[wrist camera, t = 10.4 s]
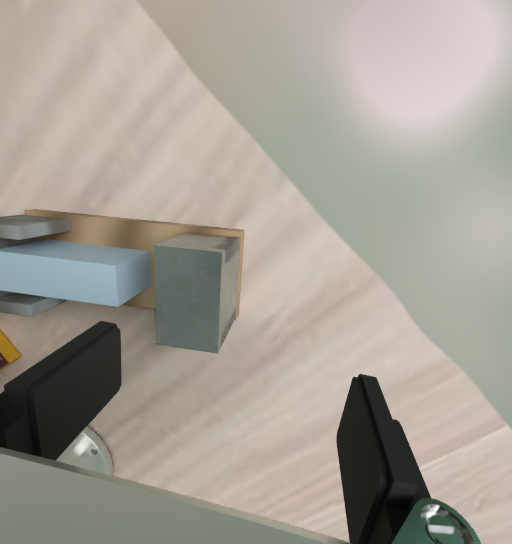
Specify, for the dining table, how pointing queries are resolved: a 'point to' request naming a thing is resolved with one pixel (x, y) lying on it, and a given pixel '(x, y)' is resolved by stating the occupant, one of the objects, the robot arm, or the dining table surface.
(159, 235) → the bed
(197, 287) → the grey concrete block
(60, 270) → the light blue block
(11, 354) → the supplement box
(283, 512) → the dining table surface
